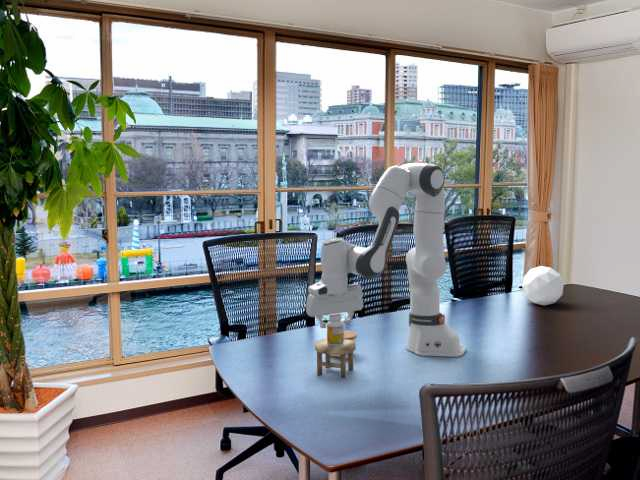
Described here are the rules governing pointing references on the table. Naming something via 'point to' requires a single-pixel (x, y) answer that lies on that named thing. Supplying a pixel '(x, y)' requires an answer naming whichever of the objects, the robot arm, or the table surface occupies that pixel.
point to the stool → (335, 356)
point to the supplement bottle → (335, 330)
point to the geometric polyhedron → (543, 285)
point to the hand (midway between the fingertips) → (335, 325)
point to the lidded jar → (350, 336)
